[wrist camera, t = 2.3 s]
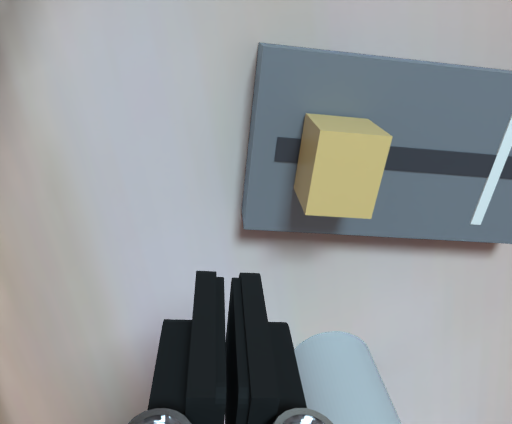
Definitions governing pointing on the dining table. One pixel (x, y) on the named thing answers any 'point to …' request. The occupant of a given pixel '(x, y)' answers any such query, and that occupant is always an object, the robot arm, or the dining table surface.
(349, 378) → the light blue cylinder
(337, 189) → the fader knob
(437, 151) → the board
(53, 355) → the dining table surface
